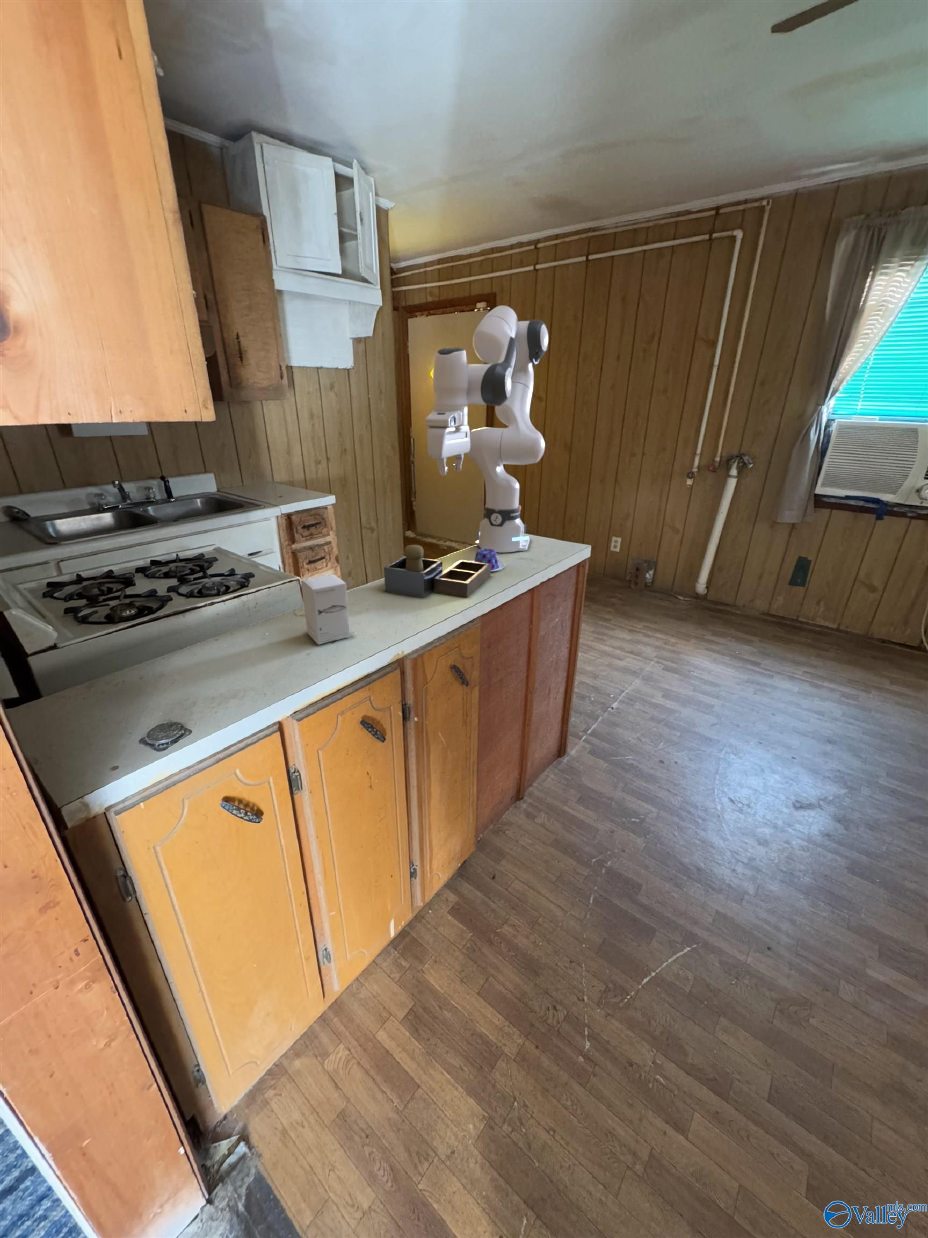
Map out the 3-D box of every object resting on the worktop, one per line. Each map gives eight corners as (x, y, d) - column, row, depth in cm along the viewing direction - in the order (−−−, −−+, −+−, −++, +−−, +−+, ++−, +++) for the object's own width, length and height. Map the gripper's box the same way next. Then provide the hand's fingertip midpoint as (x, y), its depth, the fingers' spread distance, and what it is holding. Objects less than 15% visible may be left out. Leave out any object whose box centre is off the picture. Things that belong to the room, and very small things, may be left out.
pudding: (458, 566, 155) (458, 550, 153) (486, 559, 162) (486, 543, 160) (485, 576, 147) (486, 559, 144) (513, 567, 154) (514, 551, 152)
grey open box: (405, 578, 144) (405, 555, 141) (442, 584, 140) (442, 560, 137) (385, 591, 134) (383, 567, 132) (424, 598, 130) (423, 573, 128)
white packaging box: (318, 646, 105) (311, 589, 100) (306, 633, 110) (299, 578, 105) (351, 637, 109) (346, 582, 103) (339, 625, 114) (333, 572, 109)
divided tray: (460, 572, 149) (460, 559, 148) (490, 576, 146) (490, 563, 144) (434, 592, 134) (433, 578, 133) (467, 597, 131) (467, 583, 129)
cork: (427, 581, 139) (426, 543, 135) (424, 589, 134) (423, 549, 130) (406, 580, 140) (404, 542, 136) (401, 588, 134) (400, 548, 130)
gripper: (455, 416, 140) (455, 467, 145) (422, 418, 123) (423, 477, 128) (476, 416, 138) (475, 469, 143) (445, 419, 120) (446, 478, 126)
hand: (450, 472), depth 136 cm, fingers open, 8 cm apart
